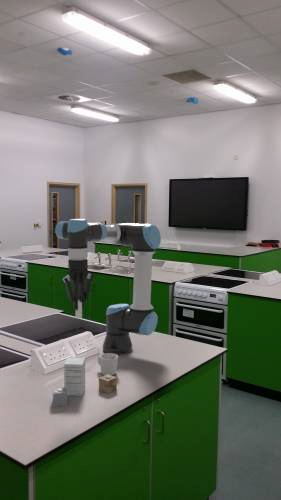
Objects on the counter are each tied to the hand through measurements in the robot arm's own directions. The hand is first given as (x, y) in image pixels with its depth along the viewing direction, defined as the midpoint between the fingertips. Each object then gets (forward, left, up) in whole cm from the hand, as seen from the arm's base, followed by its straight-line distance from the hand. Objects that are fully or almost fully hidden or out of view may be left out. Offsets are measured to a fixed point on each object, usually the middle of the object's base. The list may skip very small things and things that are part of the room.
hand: (78, 317), depth 173 cm
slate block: (+12, +9, -29) cm, 33 cm away
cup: (-17, -7, -29) cm, 35 cm away
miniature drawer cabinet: (+3, +3, -29) cm, 29 cm away
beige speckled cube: (-9, +8, -29) cm, 31 cm away
